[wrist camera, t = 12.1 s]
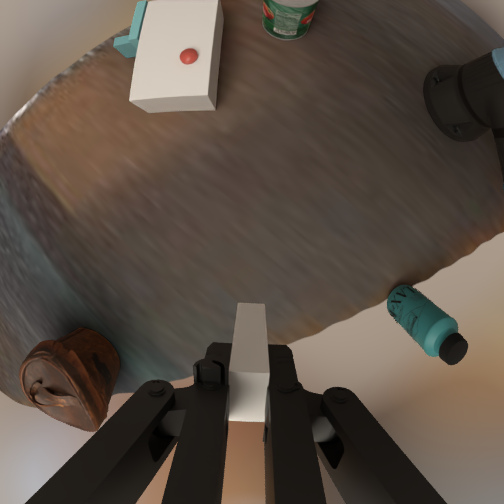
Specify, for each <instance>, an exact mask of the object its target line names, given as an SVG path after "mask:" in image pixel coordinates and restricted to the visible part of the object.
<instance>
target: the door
mask: <svg viewBox="0 0 504 504" xmlns="http://www.w3.org/2000/svg"><path fill="white" fill-rule="evenodd" d="M147 4H148V2H147V1H146V0H145V1H140V2H138V3H137V6H136V10H135V13H134V17H133V21H132V25H131V29H130V33H129V35H127V36H122V37H118V38H115V41H114V45H113V46H114V47H115V48H116V49H117V50H118V51H119V52H120V53H121V54H123V55H124V56H125V57H126V58H130V57H136V53H137V48H138V43H139V38H140V34H141V29H142V25H143V20H144V16H145V12H146V8H147Z"/></svg>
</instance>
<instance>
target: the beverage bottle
mask: <svg viewBox="0 0 504 504" xmlns="http://www.w3.org/2000/svg"><path fill="white" fill-rule="evenodd" d="M387 308H388V311H389V313H390V315H391V316H392V317H394V319H395V321H397V322H398V323H399V324H400V325H401V326H402V327H403V328H404V329H405V330H406V331H407V332H408V334H409V335H410V336H411V337H412V338H413V339H414V340H415V341H416V342H417V343H418V344H419V345H420V346H421V347H422V349H423V350H424V351H425V353H426V354H427V355H429V356H432V357H436V356H439V357H440V358H441V359H442V360H443V361H445V362H446V363H447V364H448V365H455V364H457V363H458V362H459V361H461V360H462V358H463V357H464V356H465V354H466V352H467V349H468V343H467V341H466V340H465V339H464V338H463V336H462V335H461V334H459V333H458V324H457V322H456V320H455V319H454V318H452V317H450V316H449V315H448V314H446V313H445V312H444V311H442V310H441V309H440V308H439V307H437V306H436V305H435V304H434V303H433V302H431V301H430V300H429V299H427V298H426V297H425V296H424V295H423V294H421V292H420V291H419V292H418V291H417V289H414V288H413V287H411V286H409V285H400V286H398V287H396V288H395V289H394V290H393V291H392V292H391V293H390V295H389V297H388V300H387Z"/></svg>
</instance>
